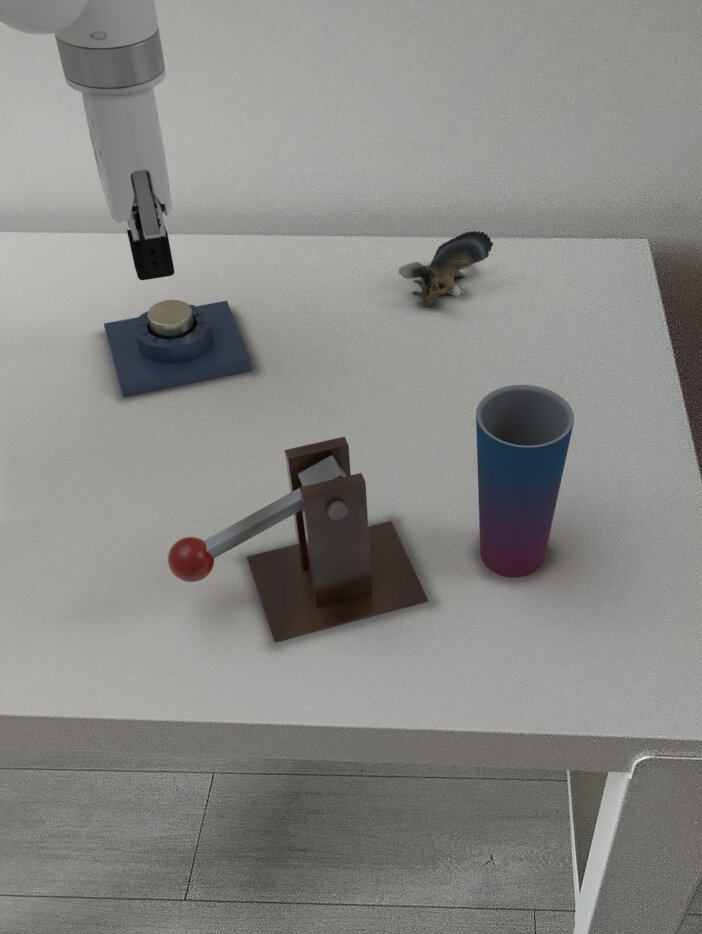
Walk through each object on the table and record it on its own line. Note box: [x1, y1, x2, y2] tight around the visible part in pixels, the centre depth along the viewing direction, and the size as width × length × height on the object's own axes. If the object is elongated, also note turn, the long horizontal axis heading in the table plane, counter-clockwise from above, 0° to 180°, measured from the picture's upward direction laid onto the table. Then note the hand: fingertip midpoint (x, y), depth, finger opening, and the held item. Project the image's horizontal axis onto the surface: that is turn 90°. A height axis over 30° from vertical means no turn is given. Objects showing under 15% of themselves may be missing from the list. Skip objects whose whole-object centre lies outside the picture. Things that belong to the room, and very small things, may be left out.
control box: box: [103, 300, 253, 398], centre depth 98 cm, size 12×10×4 cm
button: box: [147, 299, 195, 340], centre depth 97 cm, size 4×4×2 cm
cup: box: [475, 384, 575, 578], centre depth 78 cm, size 7×7×15 cm
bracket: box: [245, 436, 429, 644], centre depth 77 cm, size 12×9×13 cm
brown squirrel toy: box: [398, 230, 494, 308], centre depth 106 cm, size 8×7×9 cm
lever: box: [167, 455, 346, 583], centre depth 73 cm, size 14×3×3 cm, turn 111°
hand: (155, 273), depth 92 cm, fingers closed
